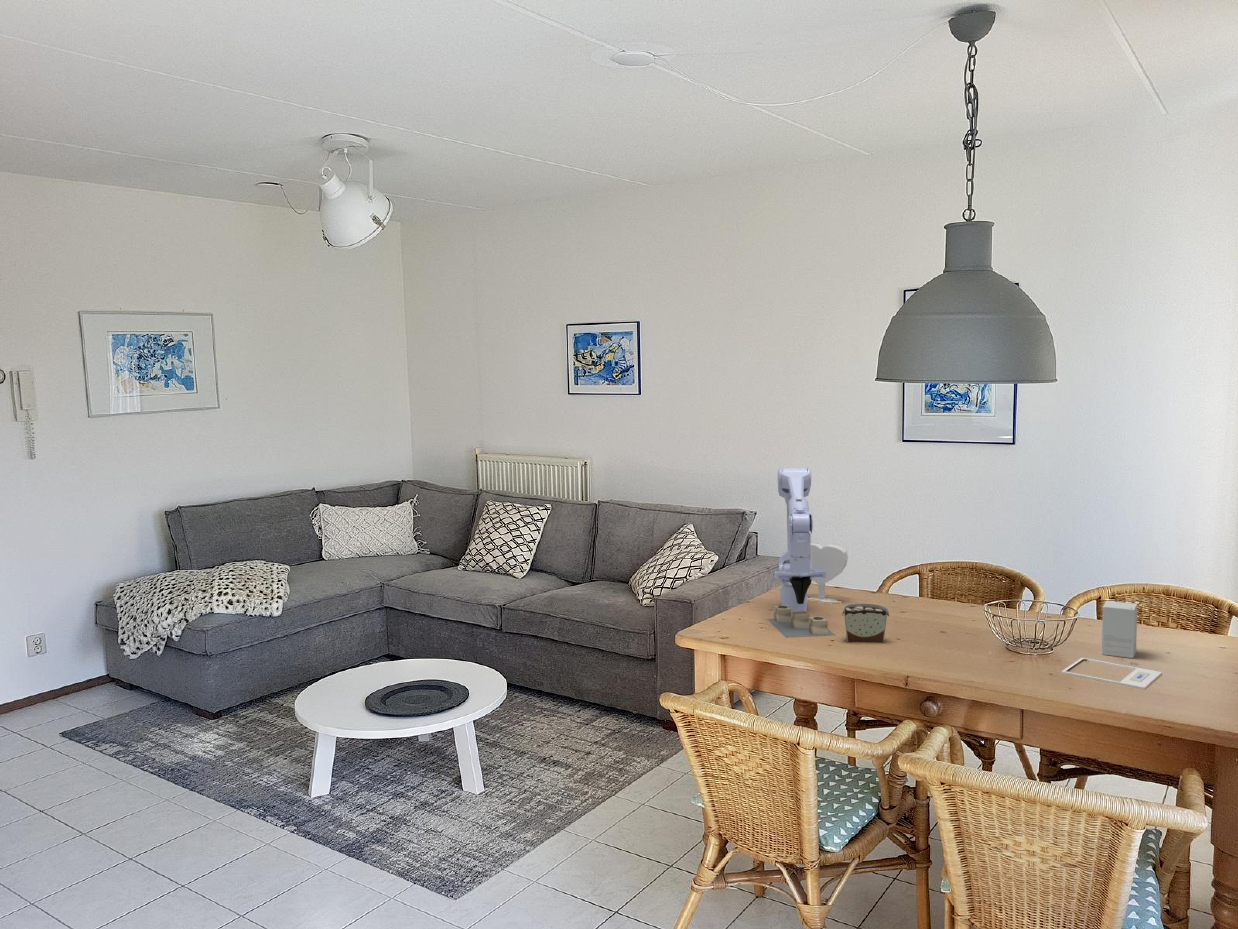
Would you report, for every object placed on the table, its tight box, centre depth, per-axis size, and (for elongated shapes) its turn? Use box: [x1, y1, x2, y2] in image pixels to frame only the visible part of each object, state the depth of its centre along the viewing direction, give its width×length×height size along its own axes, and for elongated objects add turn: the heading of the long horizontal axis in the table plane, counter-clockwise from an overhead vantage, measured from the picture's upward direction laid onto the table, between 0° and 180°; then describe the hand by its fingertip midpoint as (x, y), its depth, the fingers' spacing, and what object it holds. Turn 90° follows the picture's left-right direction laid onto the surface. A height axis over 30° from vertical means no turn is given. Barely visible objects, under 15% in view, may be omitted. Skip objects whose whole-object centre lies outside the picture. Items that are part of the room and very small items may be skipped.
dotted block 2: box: [809, 616, 829, 635], centre depth 263 cm, size 4×4×4 cm
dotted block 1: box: [773, 605, 792, 623], centre depth 276 cm, size 4×4×4 cm
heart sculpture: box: [808, 542, 849, 603], centre depth 302 cm, size 16×5×18 cm, turn 61°
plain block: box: [791, 611, 810, 629], centre depth 269 cm, size 4×4×4 cm
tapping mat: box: [766, 617, 836, 639], centre depth 270 cm, size 20×14×1 cm
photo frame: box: [1061, 657, 1163, 690], centre depth 227 cm, size 15×1×18 cm
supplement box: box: [1101, 600, 1138, 659], centre depth 243 cm, size 7×7×13 cm
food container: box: [841, 603, 890, 644], centre depth 256 cm, size 12×6×10 cm, turn 84°
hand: (800, 603), depth 269 cm, fingers closed
